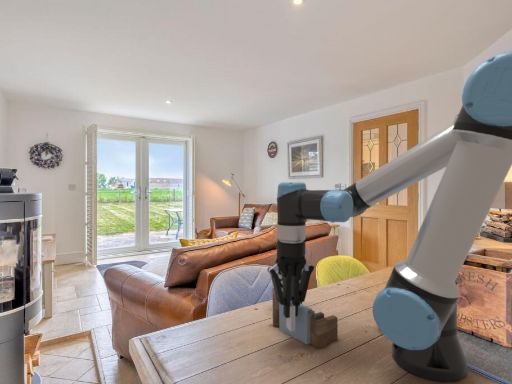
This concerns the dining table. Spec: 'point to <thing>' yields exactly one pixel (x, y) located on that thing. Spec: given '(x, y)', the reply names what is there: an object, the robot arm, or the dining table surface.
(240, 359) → the dining table surface
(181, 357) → the dining table surface
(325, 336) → the pair of brown blocks
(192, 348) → the dining table surface
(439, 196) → the robot arm
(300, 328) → the gate
